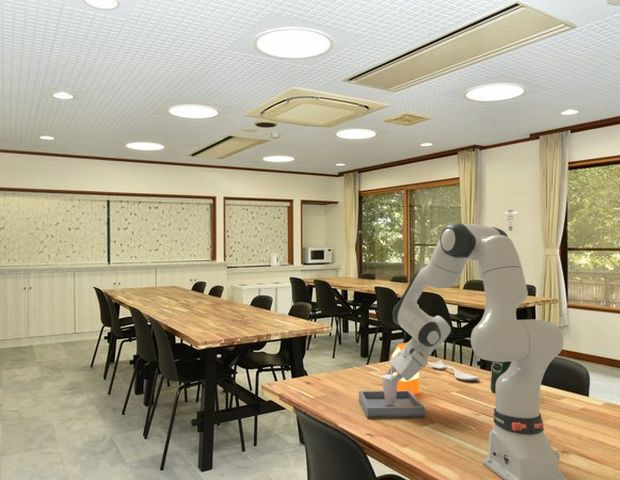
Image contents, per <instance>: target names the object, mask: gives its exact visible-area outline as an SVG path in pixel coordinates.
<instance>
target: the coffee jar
mask: <svg viewBox="0 0 620 480" xmlns="http://www.w3.org/2000/svg"><path fill="white" fill-rule="evenodd" d="M511 362H512V361H508V362H495V361H491V377H490V391H491V392H493V393H495V394H496V381H497V379H498V377H499V376H501V375H502V374H503V373H505V372H506V371H507V370H508V368H509V367H510V365H511Z"/></svg>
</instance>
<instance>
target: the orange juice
mask: <svg viewBox="0 0 620 480" xmlns="http://www.w3.org/2000/svg"><path fill="white" fill-rule="evenodd" d="M407 343H408V342H404V343H400V344H397V346H396V348H395V349H394V351H393V353H392V354H391V356H390V360H391V359H392V358H393V357H394V356H395V355H396V354H397V353H398V352H399V351H400V350H402V349H403V347H404V346H405V345H406V344H407ZM403 350H404V349H403ZM397 373H398V372H397V370H396V372H394V373H393V375H396V374H397ZM419 375H420V371H419V372H418V373H417V374H416V375H414V376H413V377H412V378H411V379H410V380H408V381H406V380H405V379H404V378H402V379H401V380H399V381H398V386H397V391H407V390H410V391H411V392H412V393H413V394H414V395H416V394H419V393H420V392H419V390H420V389H419V388H420V385H419V382H420V376H419Z"/></svg>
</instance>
